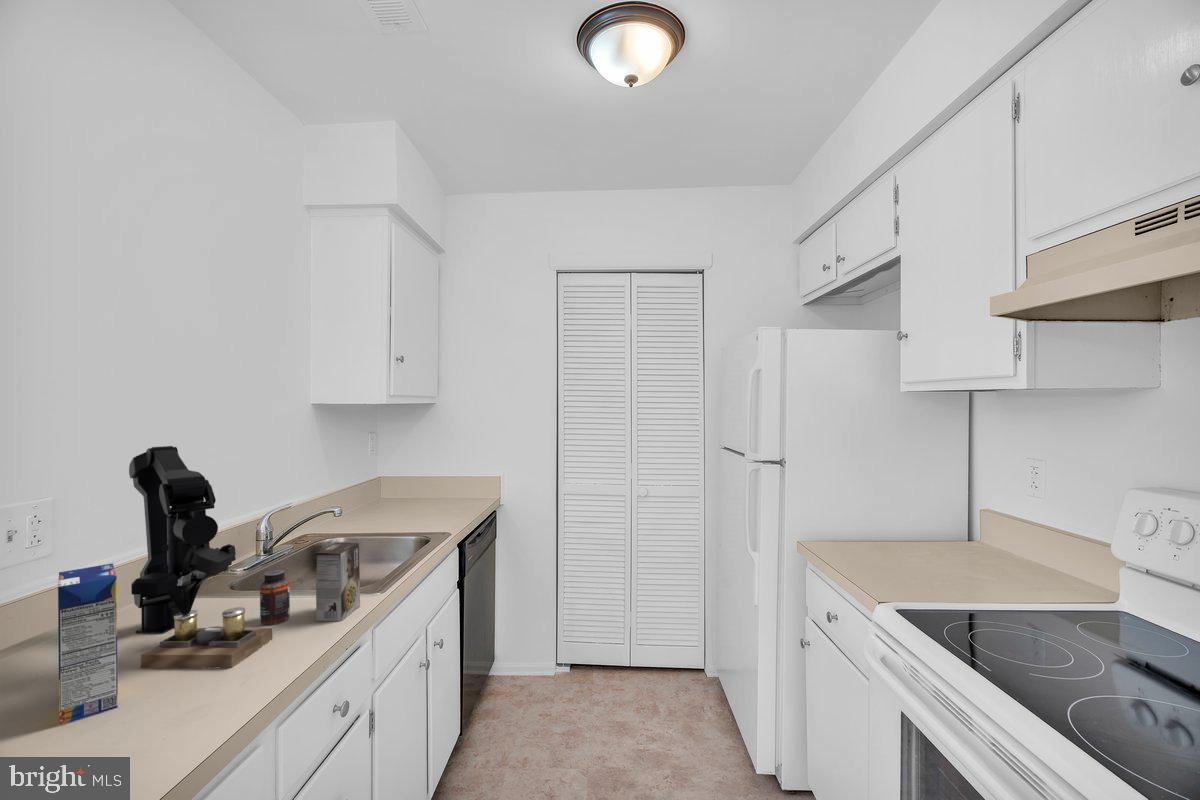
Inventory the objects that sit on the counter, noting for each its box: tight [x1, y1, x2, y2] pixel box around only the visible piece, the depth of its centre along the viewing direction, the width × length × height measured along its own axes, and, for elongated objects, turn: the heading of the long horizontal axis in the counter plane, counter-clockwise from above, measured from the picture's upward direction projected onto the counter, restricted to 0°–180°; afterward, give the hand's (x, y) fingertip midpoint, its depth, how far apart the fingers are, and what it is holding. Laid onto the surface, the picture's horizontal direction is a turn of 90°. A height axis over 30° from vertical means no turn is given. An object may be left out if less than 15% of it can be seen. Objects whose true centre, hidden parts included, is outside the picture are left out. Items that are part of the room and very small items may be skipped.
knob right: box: [221, 606, 246, 641], centre depth 107 cm, size 4×4×6 cm
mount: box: [140, 627, 274, 669], centre depth 107 cm, size 18×12×4 cm, turn 88°
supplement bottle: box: [259, 569, 291, 626], centre depth 123 cm, size 6×6×11 cm
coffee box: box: [314, 541, 361, 622], centre depth 127 cm, size 9×6×16 cm
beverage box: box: [57, 563, 119, 726], centre depth 89 cm, size 7×11×22 cm, turn 45°
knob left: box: [174, 609, 199, 641], centre depth 107 cm, size 4×4×6 cm
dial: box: [196, 625, 223, 645], centre depth 107 cm, size 5×4×2 cm
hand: (185, 613), depth 107 cm, fingers closed, pressing on knob left
